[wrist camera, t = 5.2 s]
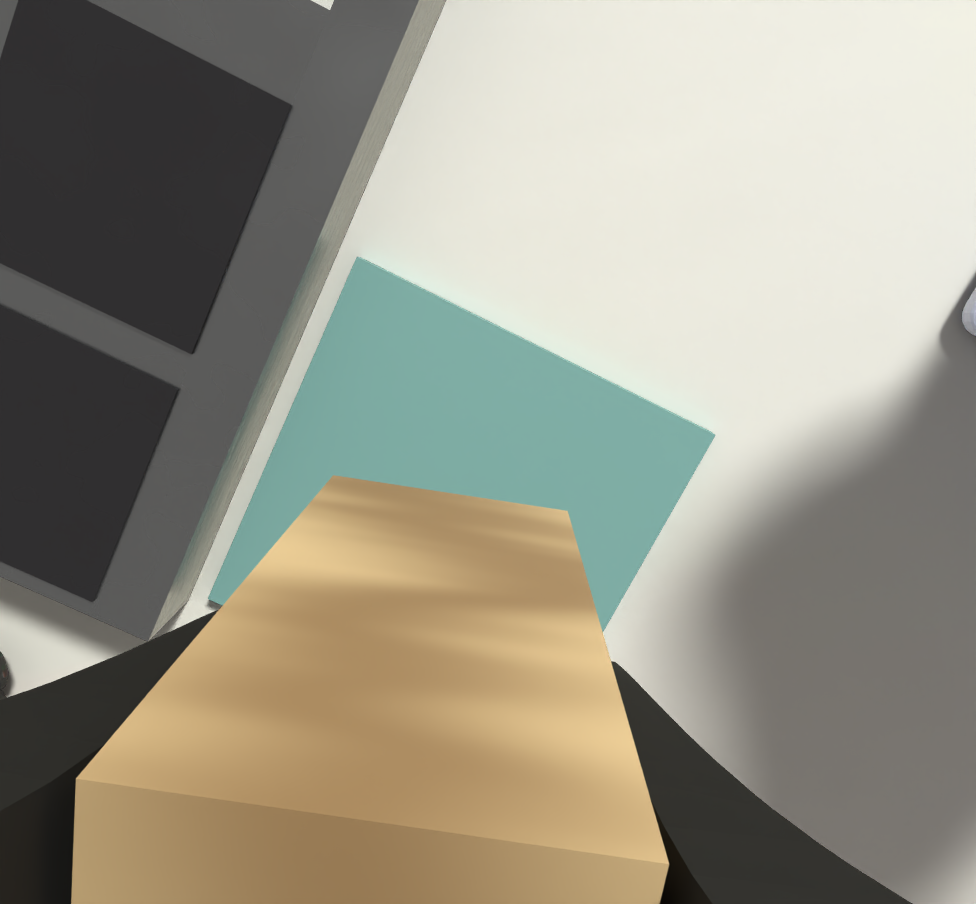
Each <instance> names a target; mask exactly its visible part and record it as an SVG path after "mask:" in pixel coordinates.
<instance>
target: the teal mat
mask: <svg viewBox="0 0 976 904" xmlns="http://www.w3.org/2000/svg"><path fill="white" fill-rule="evenodd" d="M714 437H715V434H713V433H712V432H711V431H709V430H707V429H704V428H702V427H700V426H698V425H696V424H694V423H692V422H690V421H688V420H686V419H684V418H682V417H680V416H678V415H676V414H674V413H672V412H670V411H668V410H666V409H664V408H662V407H660V406H658V405H656V404H654V403H652V402H650V401H648V400H646V399H644V398H642V397H640V396H638V395H636V394H634V393H632V392H630V391H628V390H626V389H624V388H622V387H620V386H618V385H616V384H614V383H612V382H610V381H608V380H606V379H604V378H602V377H600V376H598V375H596V374H594V373H592V372H590V371H588V370H586V369H584V368H582V367H580V366H578V365H576V364H574V363H572V362H570V361H568V360H566V359H564V358H562V357H560V356H558V355H556V354H554V353H552V352H550V351H548V350H546V349H544V348H542V347H540V346H538V345H536V344H534V343H532V342H530V341H528V340H526V339H523V338H521V337H519V336H517V335H515V334H513V333H511V332H509V331H507V330H505V329H503V328H501V327H499V326H497V325H495V324H493V323H491V322H489V321H487V320H485V319H483V318H481V317H479V316H477V315H475V314H473V313H471V312H469V311H467V310H465V309H463V308H461V307H459V306H457V305H455V304H453V303H451V302H449V301H447V300H445V299H443V298H441V297H439V296H437V295H435V294H433V293H431V292H429V291H427V290H425V289H423V288H421V287H419V286H417V285H415V284H413V283H411V282H409V281H407V280H405V279H403V278H401V277H399V276H397V275H395V274H393V273H391V272H389V271H387V270H385V269H383V268H381V267H379V266H377V265H375V264H373V263H371V262H369V261H367V260H365V259H363V258H361V257H357V258H356V260H355V262H354V265H353V267H352V269H351V272H350V274H349V276H348V278H347V281H346V283H345V285H344V288H343V290H342V292H341V294H340V297H339V299H338V301H337V304H336V306H335V308H334V311H333V313H332V315H331V317H330V320H329V322H328V324H327V327H326V329H325V331H324V333H323V336H322V338H321V340H320V343H319V345H318V347H317V350H316V352H315V354H314V356H313V359H312V361H311V363H310V366H309V368H308V370H307V372H306V375H305V377H304V379H303V382H302V384H301V386H300V389H299V391H298V393H297V395H296V398H295V400H294V402H293V405H292V407H291V409H290V411H289V414H288V416H287V418H286V421H285V423H284V425H283V428H282V430H281V432H280V434H279V437H278V439H277V441H276V444H275V446H274V448H273V450H272V453H271V455H270V457H269V460H268V462H267V464H266V467H265V469H264V471H263V473H262V476H261V478H260V480H259V483H258V485H257V487H256V489H255V492H254V494H253V496H252V499H251V501H250V503H249V506H248V508H247V510H246V512H245V515H244V517H243V519H242V522H241V524H240V526H239V528H238V531H237V533H236V535H235V538H234V540H233V542H232V545H231V547H230V549H229V551H228V554H227V556H226V558H225V561H224V563H223V565H222V567H221V570H220V572H219V574H218V577H217V579H216V581H215V584H214V586H213V588H212V590H211V593H210V595H209V597H208V599H209V600H211V601H213V602H216V603H218V604H220V605H222V606H223V605H224V603H225V602H226V601H227V600H228V599H229V598H230V596H231V595H232V594H233V593H234V592H235V590H236V589H237V588H238V587H239V586H240V585H241V583H242V582H243V581H244V580H245V579H246V577H247V576H248V575H249V574H250V573H251V572H252V570H253V569H254V568H255V567H256V566H257V565H258V563H259V562H260V561H261V560H262V559H263V557H264V556H265V555H266V554H267V553H268V552H269V550H270V549H271V548H272V547H273V546H274V544H275V543H276V542H277V541H278V540H279V539H280V537H281V536H282V535H283V534H284V533H285V531H286V530H287V529H288V528H289V527H290V526H291V524H292V523H293V522H294V521H295V520H296V519H297V517H298V516H299V515H300V514H301V513H302V511H303V510H304V509H305V508H306V507H307V506H308V504H309V503H310V502H311V501H312V500H313V498H314V497H315V496H316V495H317V494H318V493H319V491H320V490H321V489H322V488H323V487H324V485H325V484H326V483H327V482H328V481H329V480H330V478H331V477H332V476H333V475H335V476H342V477H348V478H355V479H361V480H368V481H375V482H381V483H388V484H394V485H401V486H407V487H414V488H421V489H427V490H434V491H440V492H447V493H453V494H460V495H467V496H473V497H480V498H486V499H493V500H499V501H506V502H513V503H519V504H526V505H532V506H539V507H545V508H552V509H558V510H565V511H568V514H569V517H570V521H571V524H572V528H573V531H574V535H575V538H576V542H577V545H578V549H579V552H580V556H581V559H582V563H583V566H584V570H585V573H586V576H587V580H588V583H589V587H590V590H591V594H592V597H593V601H594V604H595V608H596V611H597V615H598V618H599V622H600V625H601V629H602V632H603V631H604V629H605V628H606V626H607V624H608V622H609V621H610V619H611V617H612V615H613V614H614V612H615V610H616V608H617V607H618V605H619V603H620V601H621V600H622V598H623V596H624V594H625V593H626V591H627V589H628V587H629V586H630V584H631V582H632V580H633V579H634V577H635V575H636V573H637V572H638V570H639V568H640V566H641V565H642V563H643V561H644V559H645V558H646V556H647V554H648V552H649V551H650V549H651V547H652V545H653V544H654V542H655V540H656V538H657V537H658V535H659V533H660V531H661V530H662V528H663V526H664V524H665V523H666V521H667V519H668V517H669V516H670V514H671V512H672V510H673V509H674V507H675V505H676V503H677V502H678V500H679V498H680V496H681V495H682V493H683V491H684V489H685V488H686V486H687V484H688V482H689V481H690V479H691V477H692V475H693V474H694V472H695V470H696V468H697V467H698V465H699V463H700V461H701V460H702V458H703V456H704V454H705V453H706V451H707V449H708V447H709V446H710V444H711V442H712V440H713V439H714Z"/></svg>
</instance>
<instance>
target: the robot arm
mask: <svg viewBox="0 0 976 904" xmlns="http://www.w3.org/2000/svg"><path fill="white" fill-rule="evenodd" d="M962 322H963V324H964V327H965V329H966V330H967V331H969V332H970V333H971V334H972V335H974V336H976V288H975V290H974V291H973V293H972V294H971V296H970V298H969V299H968V301H967V302H966V304H965V307H964V309H963V312H962ZM218 611H219V610H217V611H214V612H212V613H210V614H208V615H205V616H203V617H201V618H199V619H196V620H194V621H192V622H190V623H188V624H186V625H184V626H181V627H179V628H177V629H175V630H173V631H171V632H168V633H166V634H164V635H162V636H160V637H157V638H155V639H153V640H151V641H149V642H147V643H144V644H142V645H140V646H138V647H136V648H133V649H131V650H129V651H127V652H124V653H122V654H120V655H117V656H115V657H112V658H110V659H107V660H105V661H103V662H100V663H98V664H95V665H93V666H90V667H88V668H85V669H83V670H80V671H78V672H75V673H73V674H71V675H68V676H66V677H63V678H61V679H58V680H56V681H53V682H51V683H48V684H45V685H42V686H40V687H37V688H34V689H31V690H28V691H25V692H22V693H20V694H17V695H14V696H11V697H8V698H5V699H1V700H0V904H71V897H72V870H73V843H74V817H75V790H76V778H77V777H78V776H79V774H80V773H81V772H82V771H83V770H84V769H85V767H86V766H87V765H88V764H89V763H90V761H91V760H92V759H93V758H94V757H95V756H96V754H97V753H98V752H99V751H100V750H101V748H102V747H103V746H104V745H105V744H106V743H107V741H108V740H109V739H110V738H111V737H112V736H113V734H114V733H115V732H116V731H117V730H118V728H119V727H120V726H121V725H122V724H123V723H124V721H125V720H126V719H127V718H128V717H129V715H130V714H131V713H132V712H133V711H134V710H135V708H136V707H137V706H138V705H139V704H140V703H141V701H142V700H143V699H144V698H145V697H146V695H147V694H148V693H149V692H150V691H151V690H152V688H153V687H154V686H155V685H156V684H157V682H158V681H159V680H160V679H161V678H162V677H163V675H164V674H165V673H166V672H167V671H168V669H169V668H170V667H171V666H172V665H173V664H174V662H175V661H176V660H177V659H178V658H179V657H180V655H181V654H182V653H183V652H184V651H185V649H186V648H187V647H188V646H189V645H190V644H191V642H192V641H193V640H194V639H195V638H196V636H197V635H198V634H199V633H200V632H201V631H202V629H203V628H204V627H205V626H206V625H207V623H208V622H209V621H210V620H211V619H212V618H213V616H214V615H215V614H216V613H217V612H218ZM611 663H612V667H613V670H614V674H615V677H616V681H617V684H618V688H619V691H620V695H621V698H622V702H623V705H624V709H625V712H626V716H627V719H628V723H629V726H630V730H631V733H632V737H633V740H634V743H635V747H636V750H637V754H638V757H639V761H640V764H641V768H642V771H643V775H644V778H645V782H646V785H647V789H648V792H649V796H650V799H651V803H652V806H653V810H654V813H655V817H656V820H657V823H658V827H659V830H660V834H661V837H662V841H663V844H664V848H665V851H666V855H667V858H668V862H669V867H668V871H667V875H666V879H665V884H664V888H663V892H662V896H661V900H660V904H912V903H910V902H909V901H907V900H905V899H904V898H902V897H901V896H899V895H897V894H896V893H894V892H893V891H891V890H889V889H888V888H886V887H885V886H883V885H881V884H880V883H878V882H877V881H875V880H874V879H872V878H870V877H869V876H867V875H866V874H864V873H862V872H861V871H859V870H858V869H856V868H854V867H853V866H851V865H850V864H848V863H847V862H845V861H844V860H842V859H841V858H839V857H838V856H836V855H835V854H834V853H832V852H831V851H829V850H828V849H826V848H825V847H823V846H822V845H820V844H819V843H818V842H816V841H815V840H814V839H812V838H811V837H810V836H808V835H807V834H806V833H804V832H803V831H801V830H800V829H799V828H797V827H796V826H795V825H793V824H792V823H791V822H789V821H788V820H787V819H785V818H784V817H783V816H781V815H780V814H779V813H777V812H776V811H775V810H773V809H772V808H771V807H769V806H768V805H767V804H766V803H765V802H763V801H762V800H761V799H760V798H758V797H757V796H756V795H755V794H753V793H752V792H751V791H750V790H749V789H747V788H746V787H745V786H744V785H743V784H742V783H741V782H739V781H738V780H737V779H736V778H735V777H734V776H733V775H731V774H730V773H729V772H728V771H727V770H726V769H725V768H723V767H722V766H721V765H720V764H719V763H718V762H717V761H716V760H714V759H713V758H712V757H711V756H710V755H709V754H708V753H707V752H706V751H705V750H704V749H703V748H702V747H700V746H699V745H698V744H697V743H696V742H695V741H694V740H693V739H692V738H691V737H690V736H689V735H688V734H687V733H686V732H685V731H684V730H683V729H682V728H681V727H680V726H679V725H678V724H677V723H676V722H675V721H674V720H673V719H672V718H671V717H670V716H669V715H668V714H667V713H666V712H665V711H664V710H663V709H662V708H661V707H660V706H659V705H658V704H657V703H656V702H655V701H654V700H653V699H652V698H651V697H650V695H649V694H648V693H647V692H646V691H645V690H644V689H643V688H642V687H641V686H640V685H639V684H638V683H637V682H636V681H635V680H634V679H633V678H632V677H631V676H630V675H629V674H628V673H627V672H626V671H625V670H624V669H623V668H622V667H621V666H619V665H618V664H617V663H616V662H612V661H611Z"/></svg>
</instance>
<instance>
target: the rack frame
mask: <svg viewBox="0 0 976 904" xmlns="http://www.w3.org/2000/svg"><path fill="white" fill-rule="evenodd" d="M445 1H446V0H334V2H333V5H332V7H331V10H328V9H326V8H324V7H322V6H320V5H318V4H317V3H315V2H313V1H311V0H0V577H2V578H5V579H7V580H9V581H11V582H14V583H16V584H18V585H21V586H23V587H25V588H27V589H30V590H32V591H34V592H36V593H39V594H41V595H43V596H45V597H48V598H50V599H52V600H55V601H57V602H59V603H61V604H64V605H66V606H68V607H70V608H73V609H75V610H77V611H79V612H82V613H84V614H86V615H89V616H91V617H93V618H95V619H98V620H100V621H102V622H104V623H107V624H109V625H111V626H113V627H116V628H118V629H120V630H123V631H125V632H127V633H129V634H132V635H134V636H136V637H138V638H141V639H143V640H145V641H149V640H150V639H151V638H152V637H153V636H154V635H155V634H156V633H157V632H158V631H159V630H160V629H161V628H162V627H163V626H164V625H165V624H166V623H167V622H168V621H169V620H170V619H171V618H172V617H173V616H174V615H175V614H176V613H177V612H178V610H179V609H180V608H181V607H182V606H183V605H184V604H185V603H186V602H187V601H188V599H189V597H190V595H191V592H192V590H193V588H194V585H195V583H196V581H197V578H198V576H199V574H200V571H201V569H202V567H203V565H204V562H205V560H206V558H207V555H208V553H209V551H210V548H211V546H212V544H213V541H214V539H215V537H216V534H217V532H218V530H219V527H220V525H221V523H222V520H223V518H224V516H225V513H226V511H227V509H228V506H229V504H230V502H231V499H232V497H233V495H234V492H235V490H236V488H237V485H238V483H239V481H240V478H241V476H242V474H243V471H244V469H245V467H246V464H247V462H248V460H249V457H250V455H251V453H252V450H253V448H254V446H255V443H256V441H257V439H258V436H259V434H260V432H261V429H262V427H263V425H264V423H265V420H266V418H267V416H268V413H269V411H270V409H271V406H272V404H273V402H274V399H275V397H276V395H277V392H278V390H279V388H280V385H281V383H282V381H283V378H284V376H285V374H286V371H287V369H288V367H289V364H290V362H291V360H292V357H293V355H294V353H295V350H296V348H297V346H298V343H299V341H300V339H301V336H302V334H303V332H304V329H305V327H306V325H307V322H308V320H309V318H310V315H311V313H312V311H313V308H314V306H315V304H316V301H317V299H318V297H319V294H320V292H321V290H322V288H323V285H324V283H325V281H326V278H327V276H328V274H329V271H330V269H331V267H332V264H333V262H334V260H335V257H336V255H337V253H338V250H339V248H340V246H341V243H342V241H343V239H344V236H345V234H346V232H347V229H348V227H349V225H350V222H351V220H352V218H353V215H354V213H355V211H356V208H357V206H358V204H359V201H360V199H361V197H362V194H363V192H364V190H365V187H366V185H367V183H368V180H369V178H370V176H371V173H372V171H373V169H374V166H375V164H376V162H377V159H378V157H379V155H380V153H381V150H382V148H383V146H384V143H385V141H386V139H387V136H388V134H389V132H390V129H391V127H392V125H393V122H394V120H395V118H396V115H397V113H398V111H399V108H400V106H401V104H402V101H403V99H404V97H405V94H406V92H407V90H408V87H409V85H410V83H411V80H412V78H413V76H414V73H415V71H416V69H417V66H418V64H419V62H420V59H421V57H422V55H423V52H424V50H425V48H426V45H427V43H428V41H429V38H430V36H431V34H432V31H433V29H434V27H435V24H436V22H437V20H438V17H439V15H440V13H441V11H442V8H443V6H444V4H445Z"/></svg>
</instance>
